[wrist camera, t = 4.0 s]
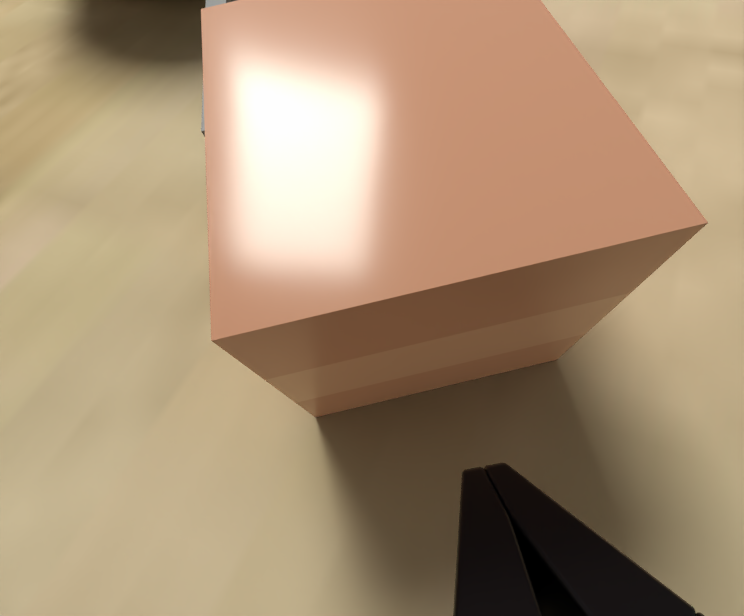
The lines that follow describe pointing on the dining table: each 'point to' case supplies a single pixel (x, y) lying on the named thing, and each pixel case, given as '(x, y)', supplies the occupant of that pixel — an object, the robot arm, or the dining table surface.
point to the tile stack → (417, 194)
